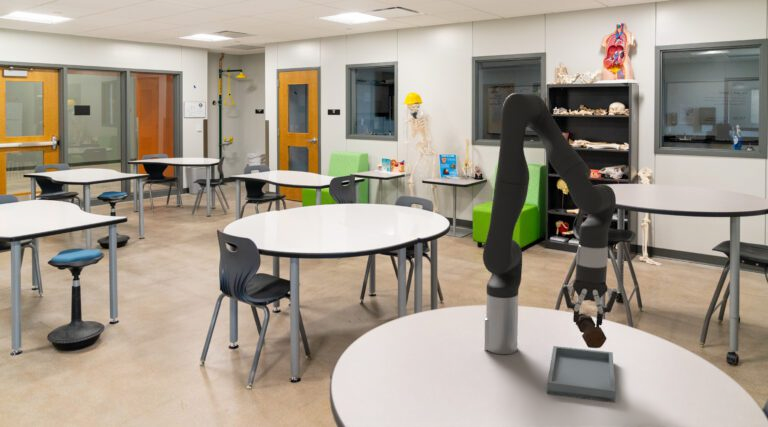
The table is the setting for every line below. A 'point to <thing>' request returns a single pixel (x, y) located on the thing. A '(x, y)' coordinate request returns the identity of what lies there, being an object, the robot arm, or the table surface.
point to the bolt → (591, 332)
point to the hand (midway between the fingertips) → (587, 324)
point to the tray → (581, 374)
